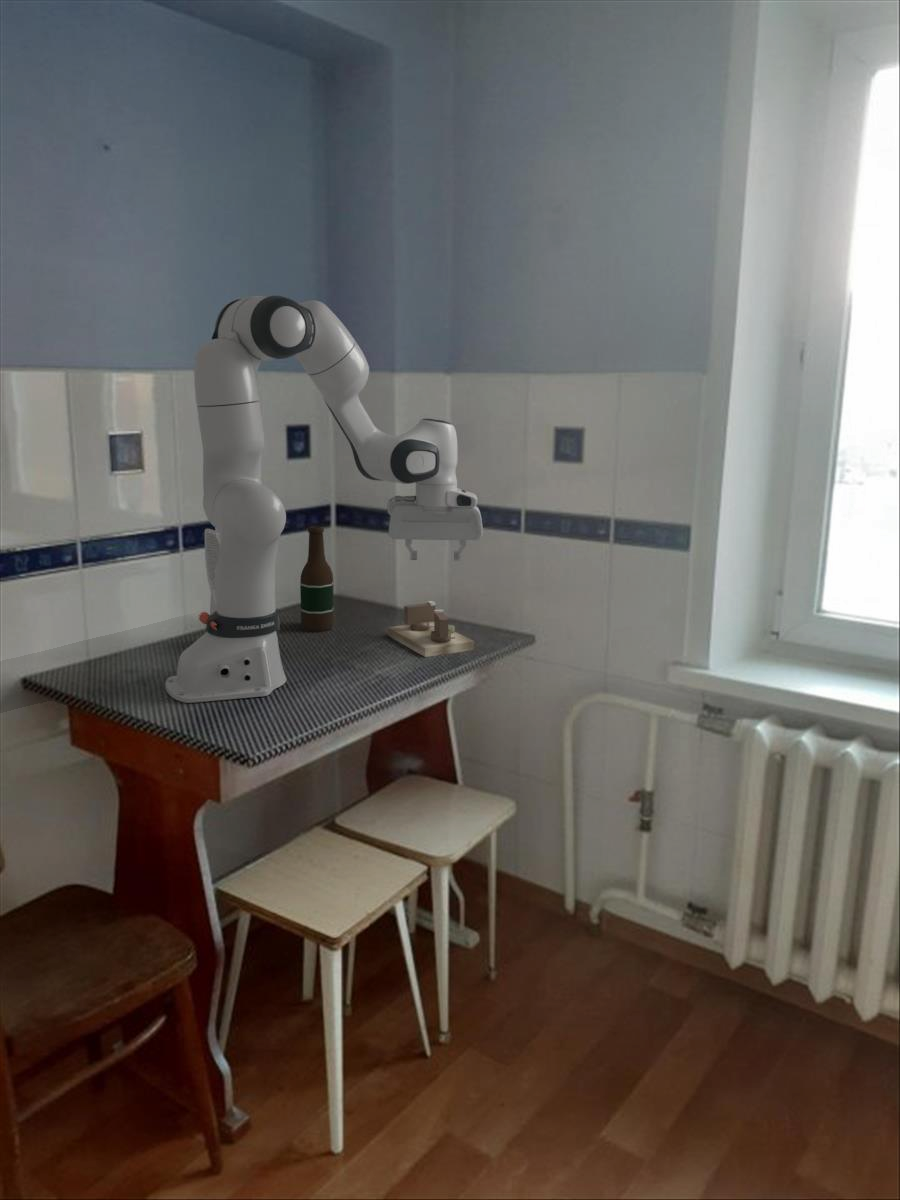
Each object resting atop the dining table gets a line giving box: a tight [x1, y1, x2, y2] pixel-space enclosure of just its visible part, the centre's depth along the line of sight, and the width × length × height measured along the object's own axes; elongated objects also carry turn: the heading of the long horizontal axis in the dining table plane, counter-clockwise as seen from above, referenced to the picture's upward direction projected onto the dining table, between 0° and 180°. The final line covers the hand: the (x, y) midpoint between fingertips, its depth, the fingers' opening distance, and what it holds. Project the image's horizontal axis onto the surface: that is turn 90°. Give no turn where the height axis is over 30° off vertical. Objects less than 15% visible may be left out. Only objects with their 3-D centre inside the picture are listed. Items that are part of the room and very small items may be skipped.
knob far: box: [403, 600, 437, 631], centre depth 210 cm, size 7×4×6 cm, turn 119°
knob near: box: [431, 609, 451, 642], centre depth 202 cm, size 7×4×6 cm, turn 11°
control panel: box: [387, 622, 475, 658], centre depth 207 cm, size 12×18×4 cm
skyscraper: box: [204, 527, 221, 616], centre depth 199 cm, size 8×8×28 cm
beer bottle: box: [299, 525, 335, 633], centre depth 214 cm, size 8×8×24 cm
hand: (435, 559), depth 201 cm, fingers open, 8 cm apart
